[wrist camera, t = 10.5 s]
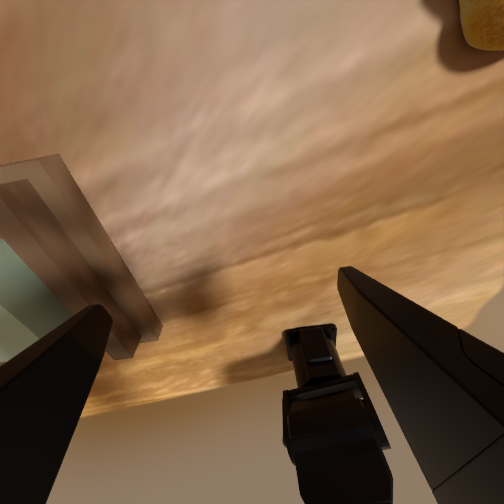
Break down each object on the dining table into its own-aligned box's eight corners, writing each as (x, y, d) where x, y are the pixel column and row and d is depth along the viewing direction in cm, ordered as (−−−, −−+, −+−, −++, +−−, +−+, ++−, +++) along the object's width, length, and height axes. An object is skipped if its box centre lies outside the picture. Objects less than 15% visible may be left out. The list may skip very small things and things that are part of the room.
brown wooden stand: (162, 326, 27) (150, 361, 24) (28, 345, 28) (-5, 381, 25) (58, 154, 16) (3, 168, 13) (-154, 195, 17) (-263, 220, 14)
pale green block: (84, 318, 23) (57, 354, 20) (31, 326, 24) (-4, 362, 20) (11, 237, 18) (-42, 268, 14) (-56, 249, 18) (-123, 281, 15)
